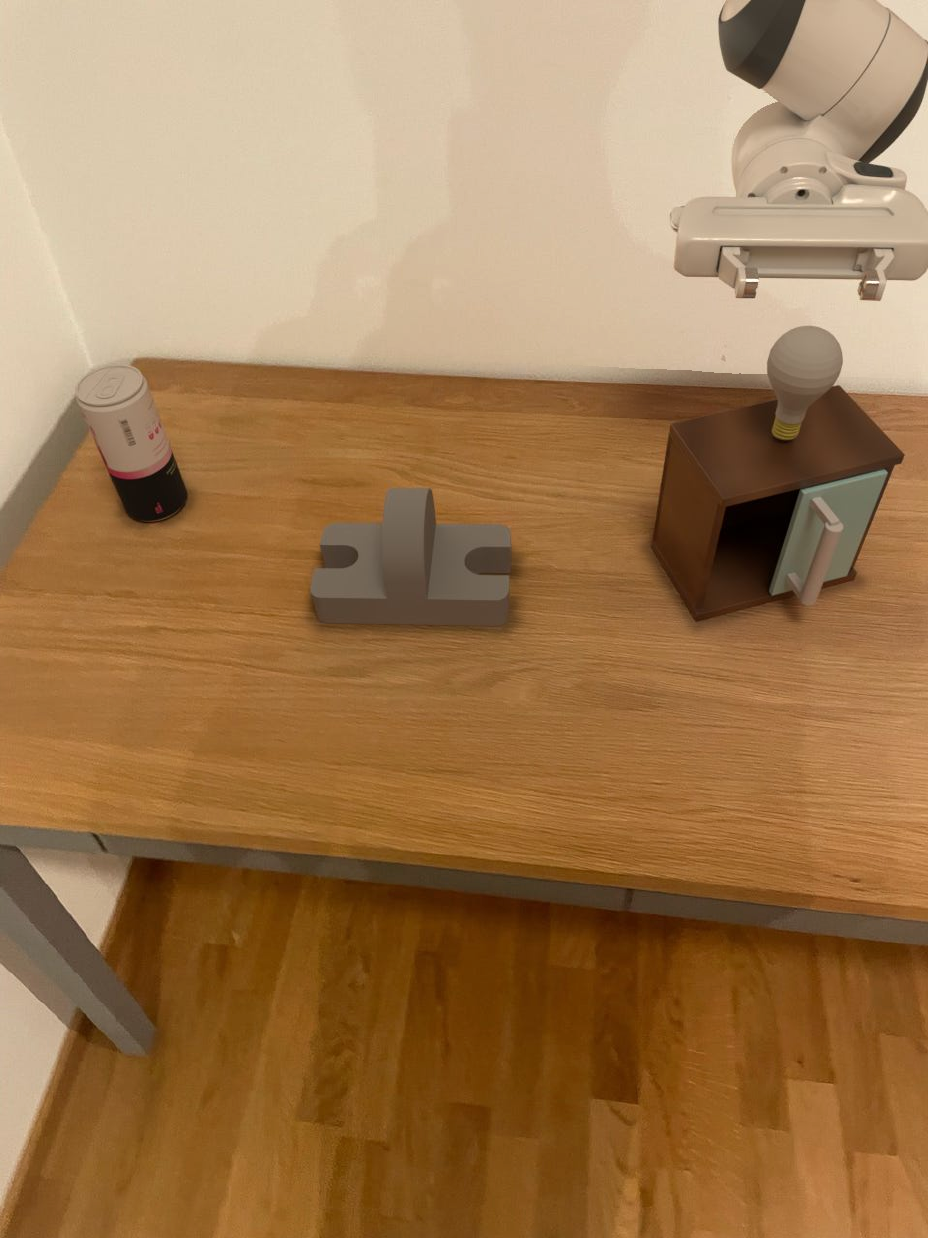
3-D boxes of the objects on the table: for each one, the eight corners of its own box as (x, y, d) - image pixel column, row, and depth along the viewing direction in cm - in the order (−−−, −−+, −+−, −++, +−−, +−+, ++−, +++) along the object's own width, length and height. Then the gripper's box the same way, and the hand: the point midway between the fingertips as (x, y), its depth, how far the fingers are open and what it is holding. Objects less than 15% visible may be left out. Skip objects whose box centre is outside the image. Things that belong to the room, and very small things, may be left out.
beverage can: (116, 523, 96) (62, 404, 84) (137, 480, 100) (88, 362, 88) (177, 525, 95) (130, 406, 84) (196, 483, 99) (154, 363, 88)
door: (843, 571, 85) (884, 468, 76) (869, 605, 82) (914, 502, 73) (768, 591, 84) (800, 488, 75) (792, 625, 81) (828, 524, 72)
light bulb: (824, 458, 75) (859, 351, 67) (756, 460, 75) (783, 353, 67) (809, 416, 78) (841, 310, 71) (744, 418, 79) (768, 312, 71)
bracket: (508, 626, 84) (507, 543, 76) (314, 623, 86) (292, 540, 78) (511, 550, 91) (510, 466, 82) (330, 548, 92) (311, 465, 84)
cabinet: (799, 509, 92) (839, 384, 81) (854, 580, 86) (905, 454, 75) (651, 547, 90) (670, 423, 79) (695, 621, 84) (723, 498, 72)
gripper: (673, 168, 79) (678, 250, 70) (924, 169, 77) (962, 254, 68) (665, 239, 84) (668, 324, 75) (901, 241, 81) (933, 330, 73)
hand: (810, 291), depth 71 cm, fingers open, 8 cm apart
